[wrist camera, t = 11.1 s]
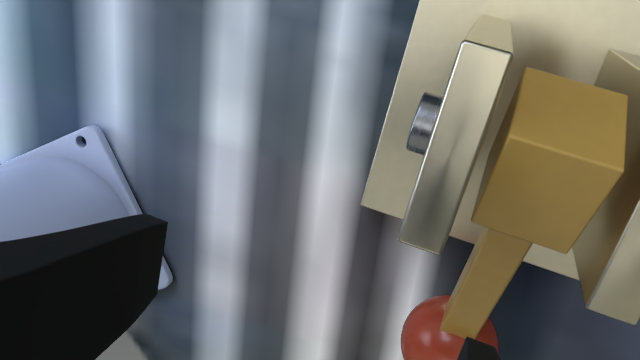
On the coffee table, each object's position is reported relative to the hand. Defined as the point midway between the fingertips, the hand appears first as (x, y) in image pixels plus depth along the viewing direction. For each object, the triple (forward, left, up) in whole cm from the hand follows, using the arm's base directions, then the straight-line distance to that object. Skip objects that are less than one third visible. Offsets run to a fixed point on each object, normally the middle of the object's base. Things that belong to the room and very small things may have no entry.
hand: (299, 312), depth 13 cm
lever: (+4, -2, -6) cm, 7 cm away
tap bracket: (+6, +1, -10) cm, 12 cm away
